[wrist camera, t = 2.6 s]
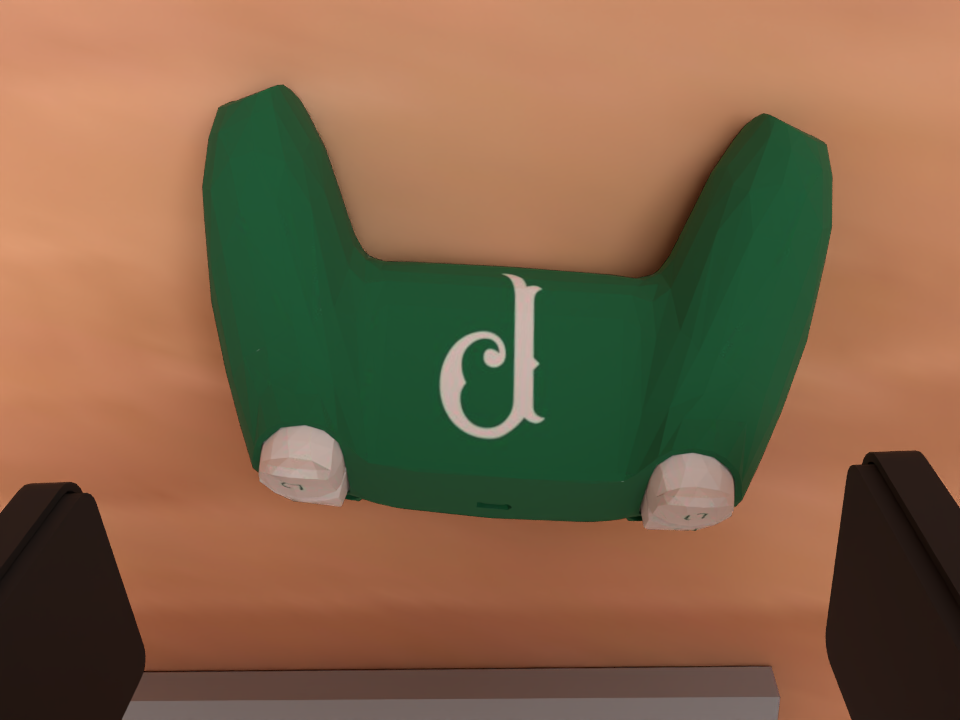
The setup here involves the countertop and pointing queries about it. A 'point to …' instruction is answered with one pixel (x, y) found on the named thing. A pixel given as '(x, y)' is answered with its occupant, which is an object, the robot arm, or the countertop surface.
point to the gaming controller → (509, 342)
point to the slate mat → (461, 694)
